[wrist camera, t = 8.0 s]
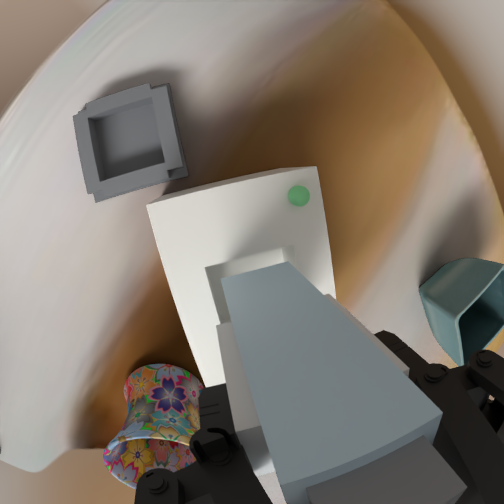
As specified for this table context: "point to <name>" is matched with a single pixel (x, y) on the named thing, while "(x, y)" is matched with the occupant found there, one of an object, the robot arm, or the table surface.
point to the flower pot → (465, 306)
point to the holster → (129, 141)
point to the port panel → (237, 245)
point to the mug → (155, 423)
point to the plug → (333, 399)
